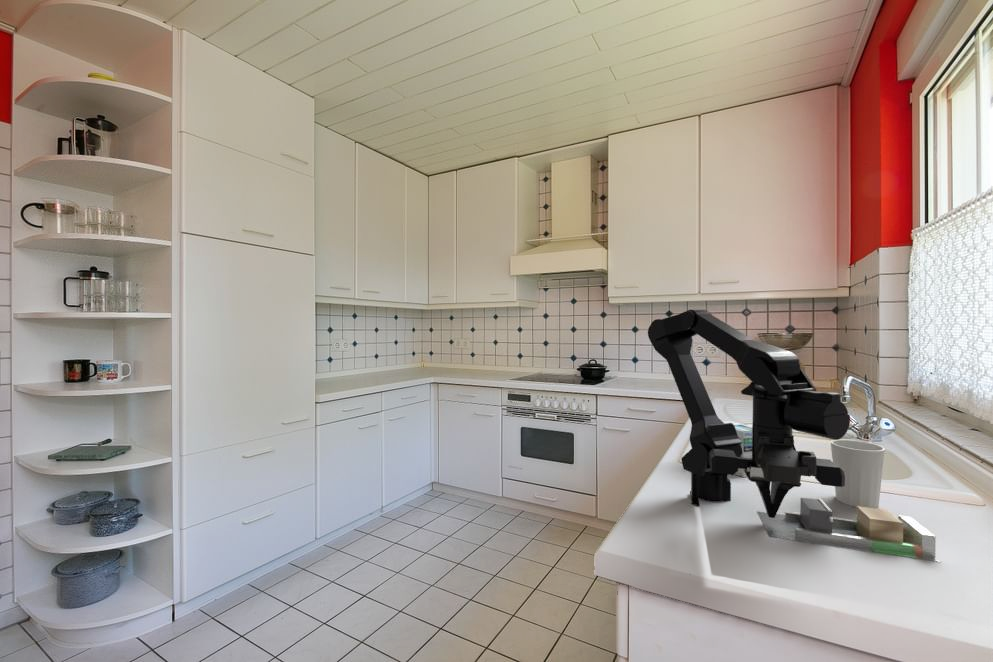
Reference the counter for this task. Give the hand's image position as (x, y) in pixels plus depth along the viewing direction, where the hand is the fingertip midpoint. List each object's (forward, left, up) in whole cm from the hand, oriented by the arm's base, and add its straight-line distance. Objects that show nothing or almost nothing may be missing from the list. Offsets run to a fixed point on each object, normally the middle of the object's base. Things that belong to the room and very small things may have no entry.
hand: (770, 516), depth 74 cm
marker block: (+15, 0, -1) cm, 15 cm away
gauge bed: (+9, 0, -2) cm, 10 cm away
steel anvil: (+19, 0, -1) cm, 19 cm away
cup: (+17, +17, -3) cm, 24 cm away
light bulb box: (-1, +34, -3) cm, 34 cm away
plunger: (+6, -1, -1) cm, 6 cm away
